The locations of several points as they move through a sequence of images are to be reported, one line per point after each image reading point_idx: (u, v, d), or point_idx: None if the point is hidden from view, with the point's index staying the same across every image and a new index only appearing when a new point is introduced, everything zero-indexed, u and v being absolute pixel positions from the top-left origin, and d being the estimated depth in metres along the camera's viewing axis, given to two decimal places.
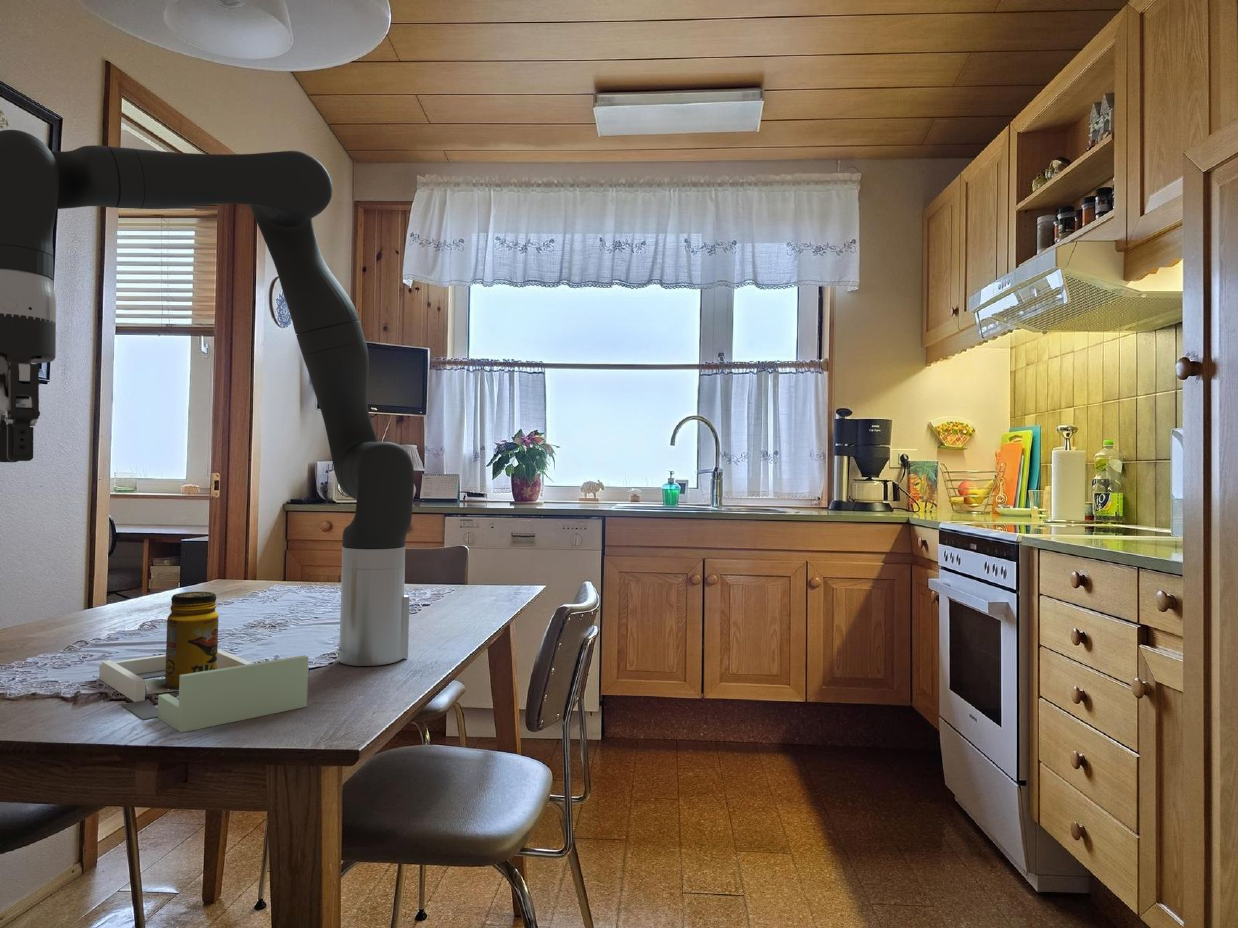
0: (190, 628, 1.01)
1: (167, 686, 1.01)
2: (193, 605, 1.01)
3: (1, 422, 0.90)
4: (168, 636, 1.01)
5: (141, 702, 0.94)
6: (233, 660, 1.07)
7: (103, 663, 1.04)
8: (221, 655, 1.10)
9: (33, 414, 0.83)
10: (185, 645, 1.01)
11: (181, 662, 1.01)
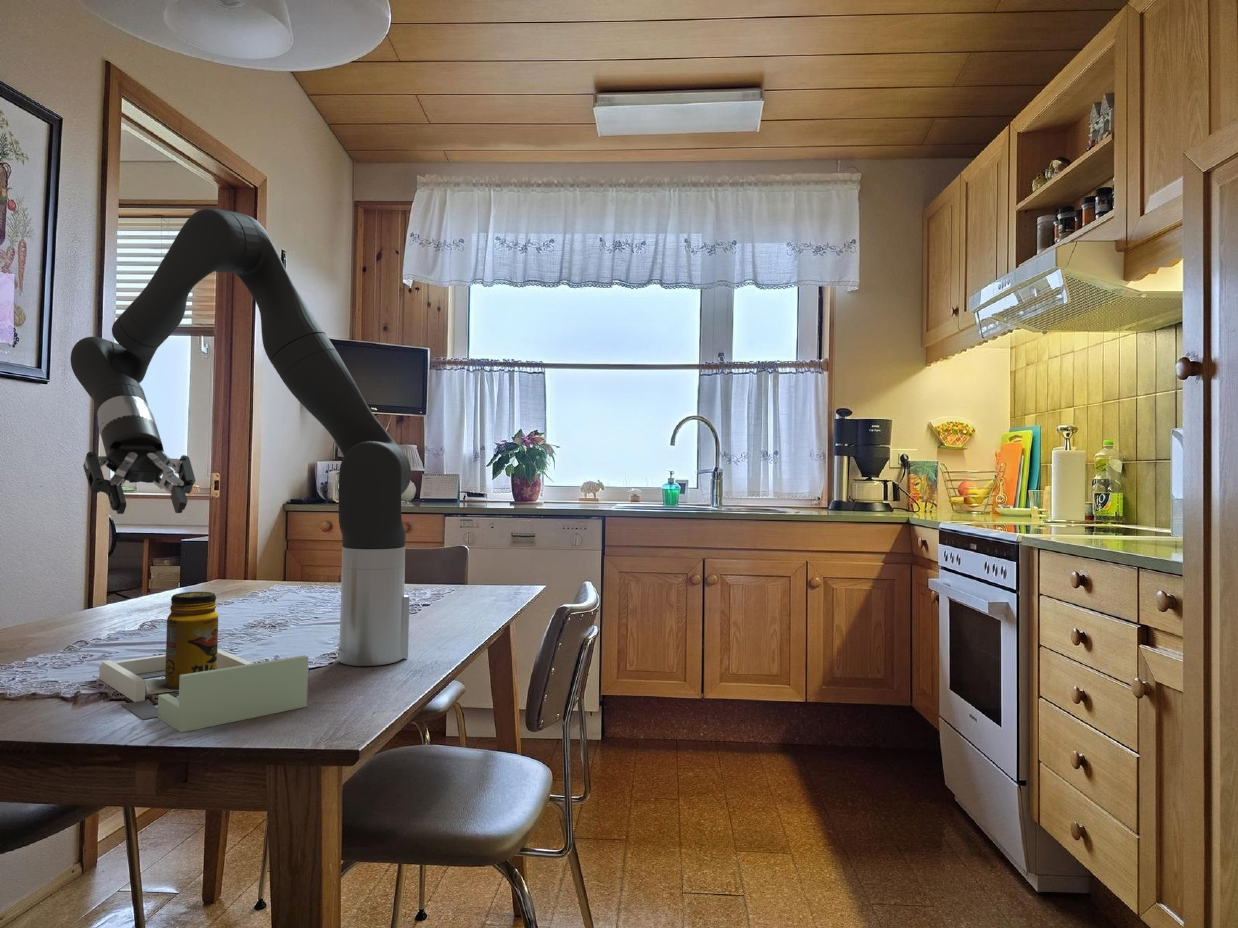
0: (189, 628, 1.01)
1: (167, 687, 1.01)
2: (192, 605, 1.01)
3: (171, 490, 1.19)
4: (168, 636, 1.01)
5: (141, 702, 0.94)
6: (233, 660, 1.07)
7: (103, 663, 1.04)
8: (221, 655, 1.10)
9: (94, 481, 1.10)
10: (185, 645, 1.01)
11: (181, 662, 1.01)
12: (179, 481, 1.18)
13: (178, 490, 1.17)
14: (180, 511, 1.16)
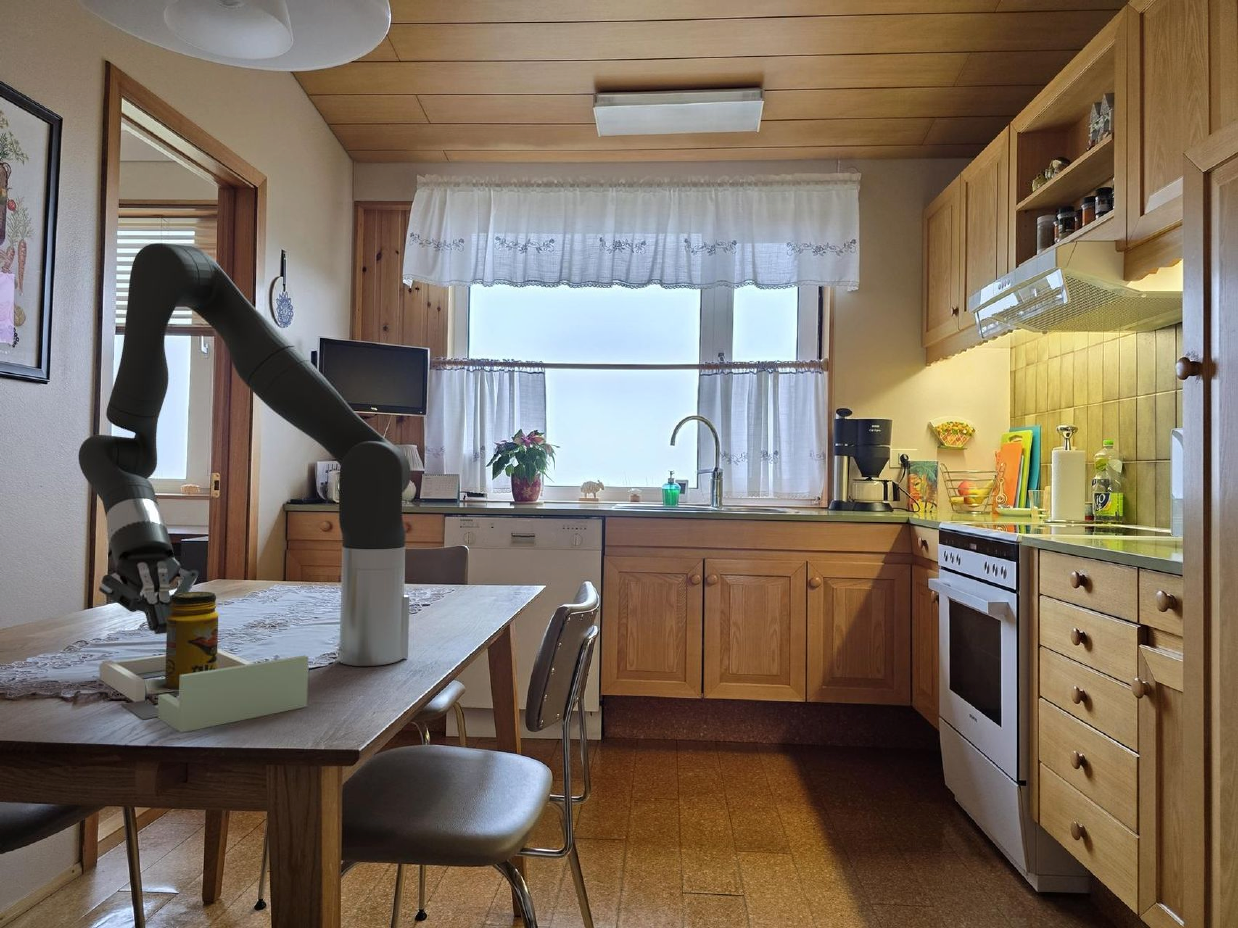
0: (189, 628, 1.01)
1: (167, 686, 1.01)
2: (192, 605, 1.01)
3: None
4: (168, 636, 1.01)
5: (141, 702, 0.94)
6: (233, 660, 1.07)
7: (103, 663, 1.04)
8: (221, 655, 1.10)
9: (134, 602, 1.08)
10: (184, 645, 1.01)
11: (181, 662, 1.01)
12: (166, 598, 1.11)
13: (164, 608, 1.10)
14: (166, 631, 1.09)
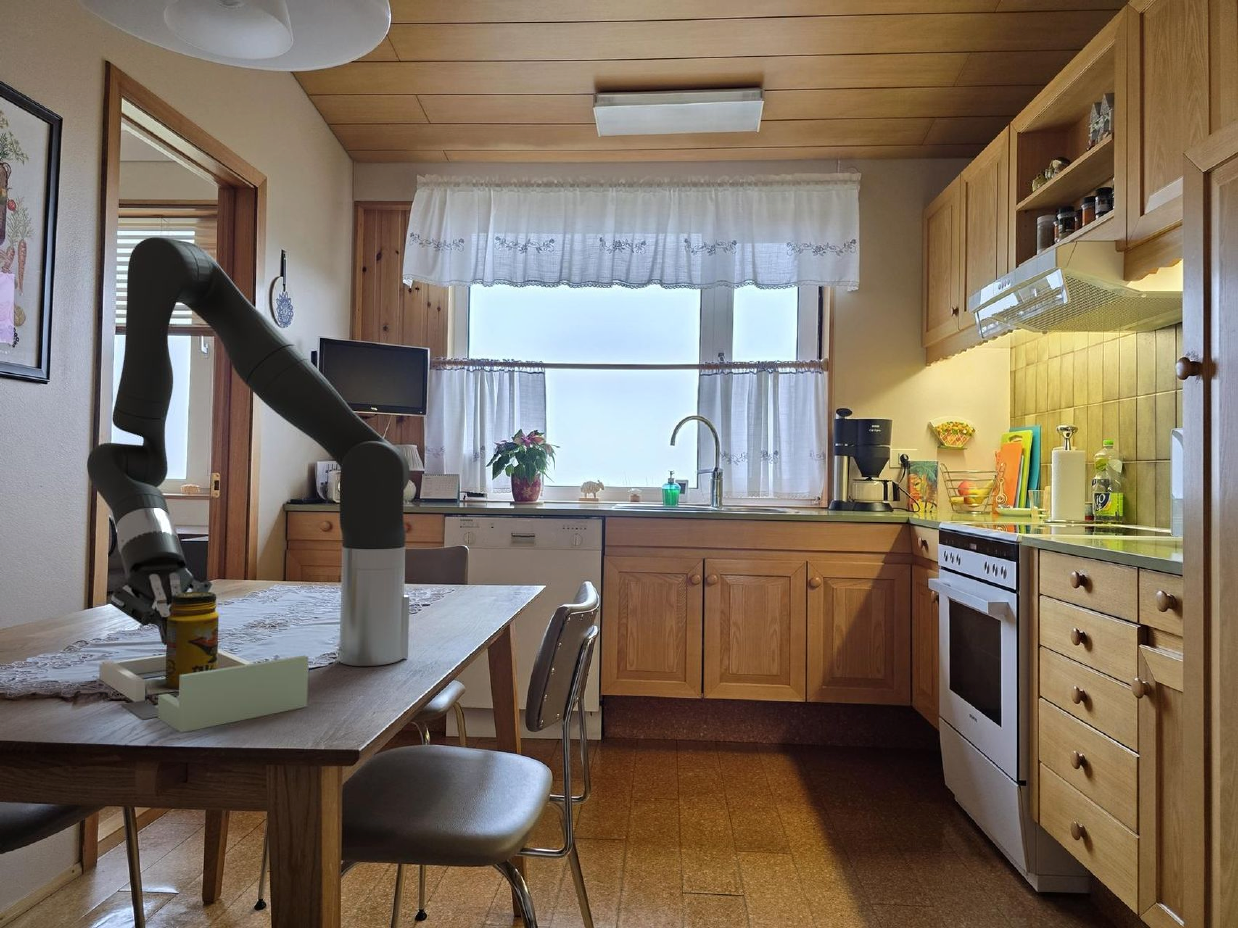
0: (190, 628, 1.01)
1: (168, 687, 1.01)
2: (193, 605, 1.01)
3: None
4: (168, 636, 1.01)
5: (141, 702, 0.94)
6: (233, 660, 1.07)
7: (103, 663, 1.04)
8: (221, 655, 1.10)
9: (147, 615, 1.05)
10: (185, 645, 1.01)
11: (181, 662, 1.01)
12: None
13: None
14: None
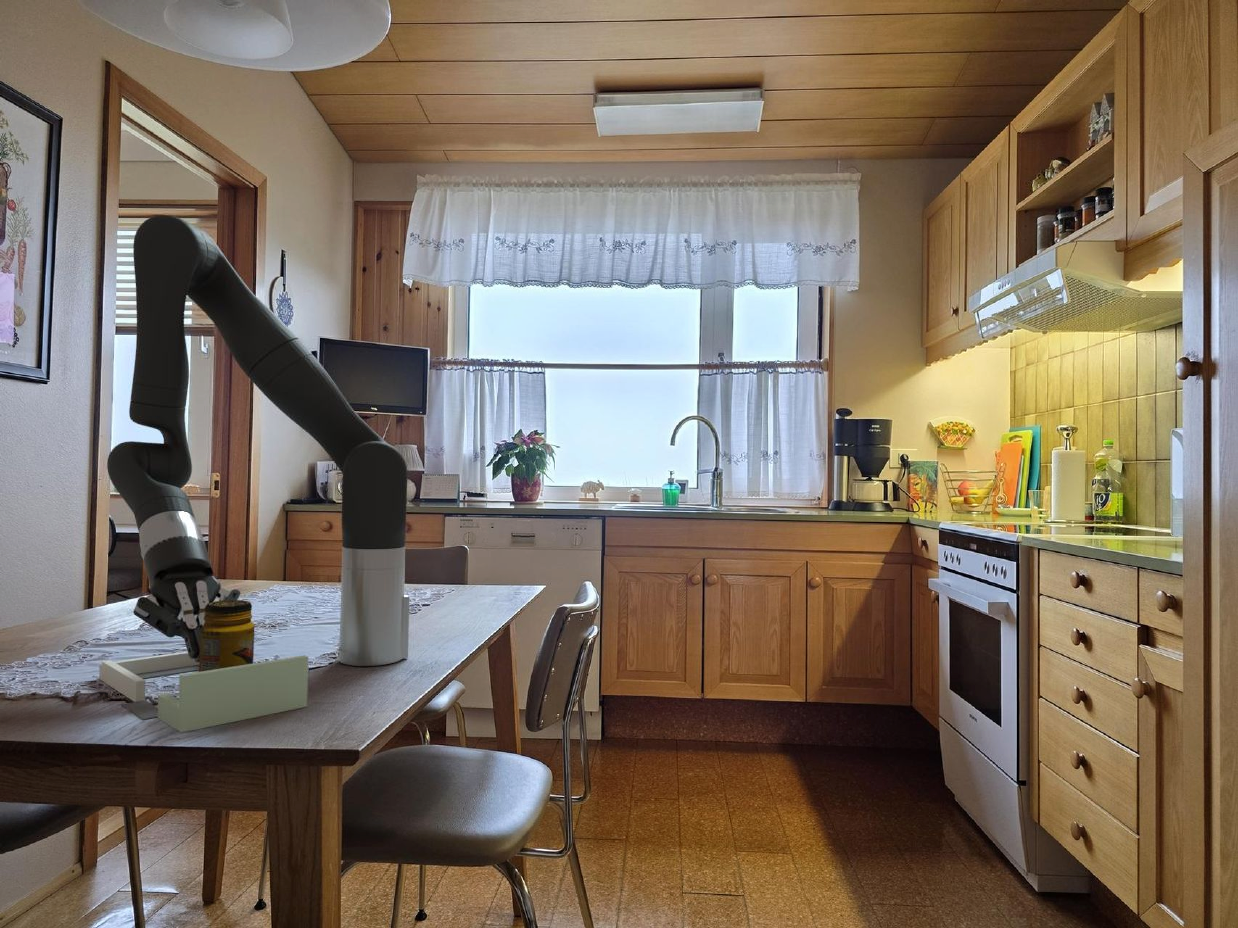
0: (235, 639, 0.95)
1: None
2: (236, 614, 0.95)
3: None
4: (207, 649, 0.94)
5: (141, 702, 0.94)
6: None
7: (103, 663, 1.04)
8: None
9: (173, 627, 0.98)
10: (229, 657, 0.94)
11: None
12: None
13: None
14: None
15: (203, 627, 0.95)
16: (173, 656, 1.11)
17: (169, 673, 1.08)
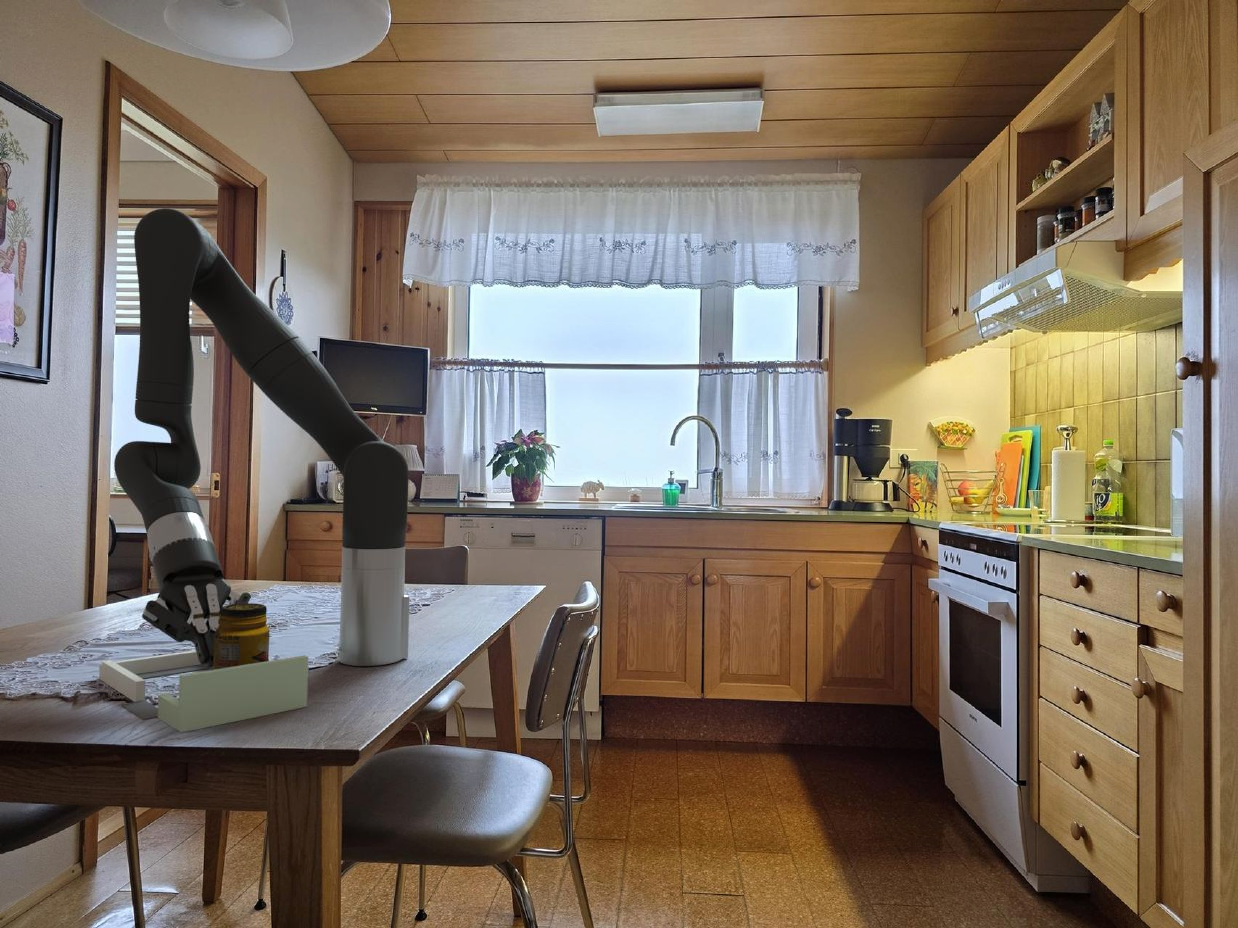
0: (254, 643, 0.93)
1: None
2: (255, 617, 0.93)
3: None
4: (225, 654, 0.92)
5: (141, 702, 0.94)
6: None
7: (103, 663, 1.04)
8: None
9: (182, 632, 0.95)
10: (249, 662, 0.92)
11: None
12: (217, 626, 0.98)
13: None
14: None
15: (219, 632, 0.92)
16: (173, 656, 1.11)
17: (169, 673, 1.08)
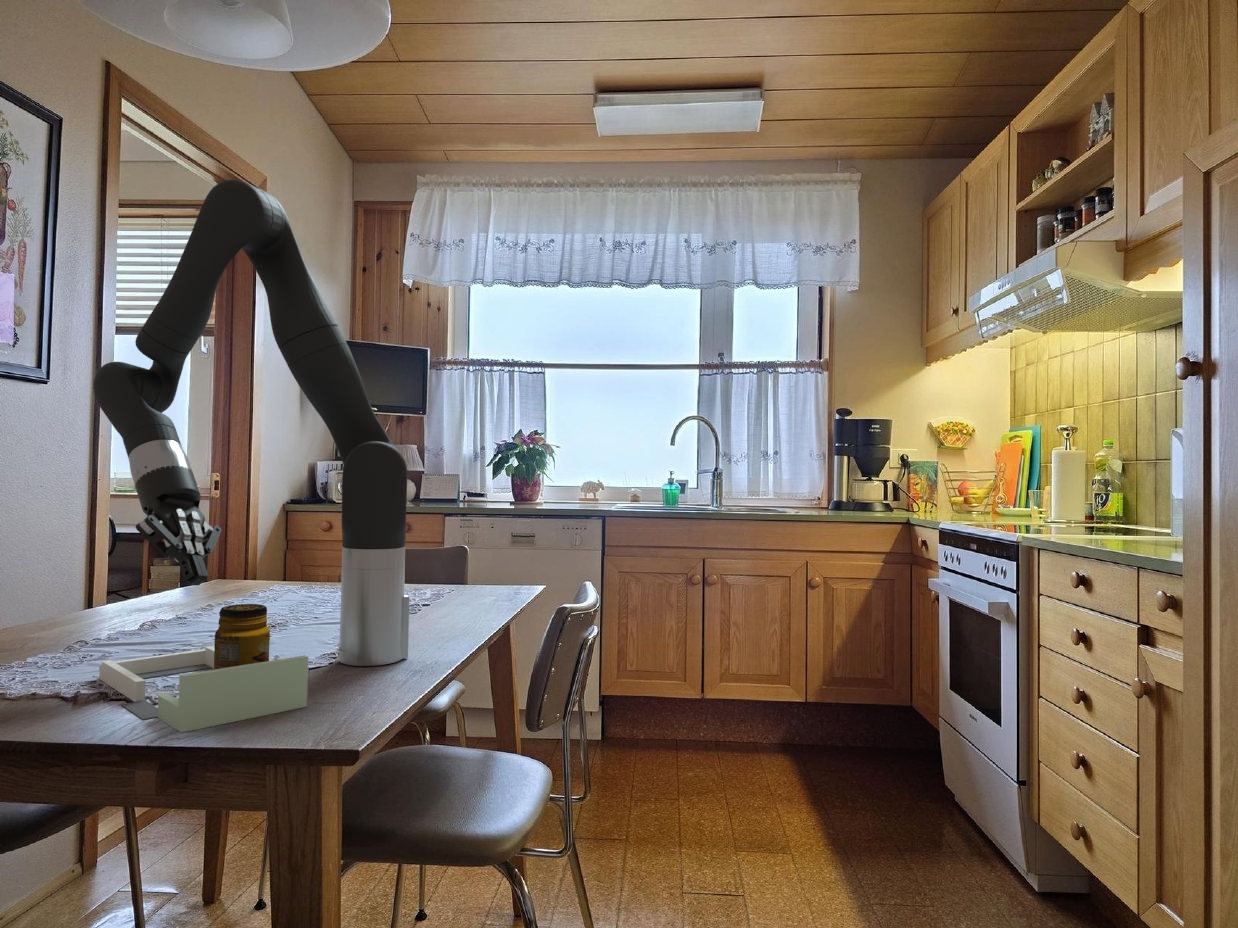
0: (254, 643, 0.93)
1: None
2: (255, 618, 0.93)
3: None
4: (225, 655, 0.92)
5: (141, 702, 0.94)
6: None
7: (103, 663, 1.04)
8: None
9: (175, 549, 1.06)
10: (249, 662, 0.92)
11: None
12: (201, 550, 1.10)
13: (200, 560, 1.09)
14: (198, 584, 1.08)
15: (219, 632, 0.92)
16: (173, 656, 1.11)
17: (169, 673, 1.08)
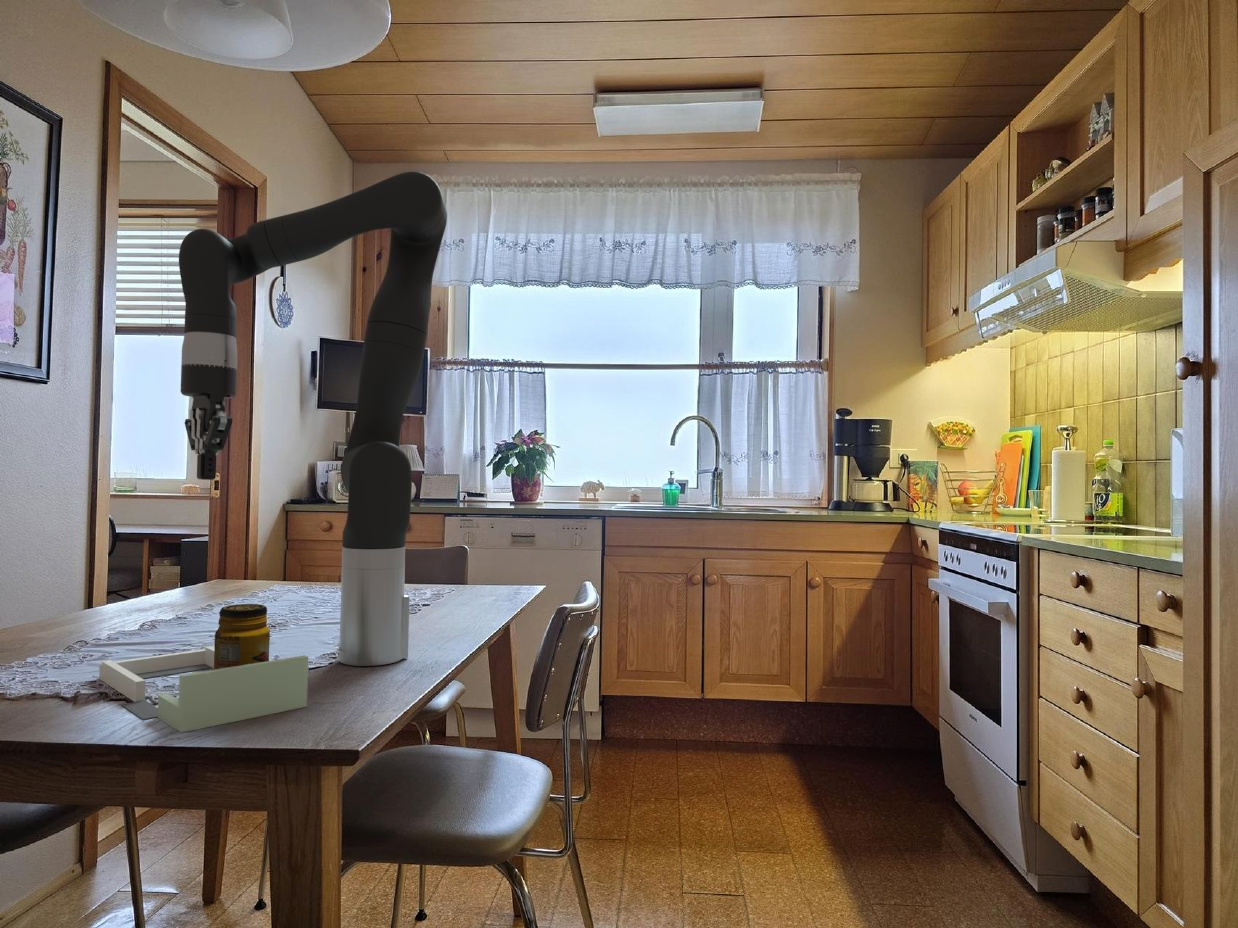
0: (254, 643, 0.93)
1: None
2: (255, 618, 0.93)
3: None
4: (225, 655, 0.92)
5: (141, 702, 0.94)
6: None
7: (103, 663, 1.04)
8: None
9: (219, 449, 1.17)
10: (249, 662, 0.92)
11: None
12: None
13: None
14: (202, 479, 1.18)
15: (219, 632, 0.92)
16: (173, 656, 1.11)
17: (169, 673, 1.08)
